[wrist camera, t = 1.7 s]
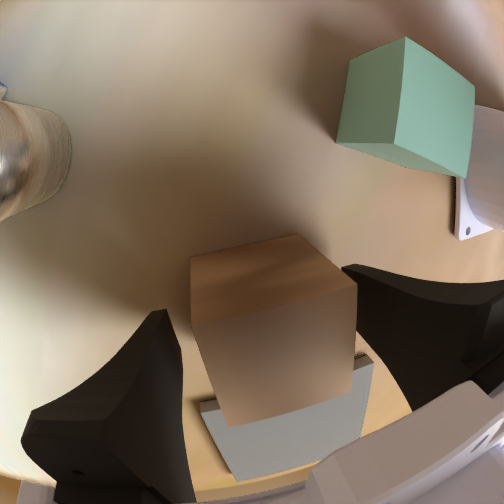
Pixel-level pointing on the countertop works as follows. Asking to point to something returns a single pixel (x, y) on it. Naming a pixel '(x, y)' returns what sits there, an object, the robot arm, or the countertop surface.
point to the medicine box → (2, 91)
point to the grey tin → (30, 156)
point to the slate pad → (291, 431)
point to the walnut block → (273, 327)
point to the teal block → (408, 109)
